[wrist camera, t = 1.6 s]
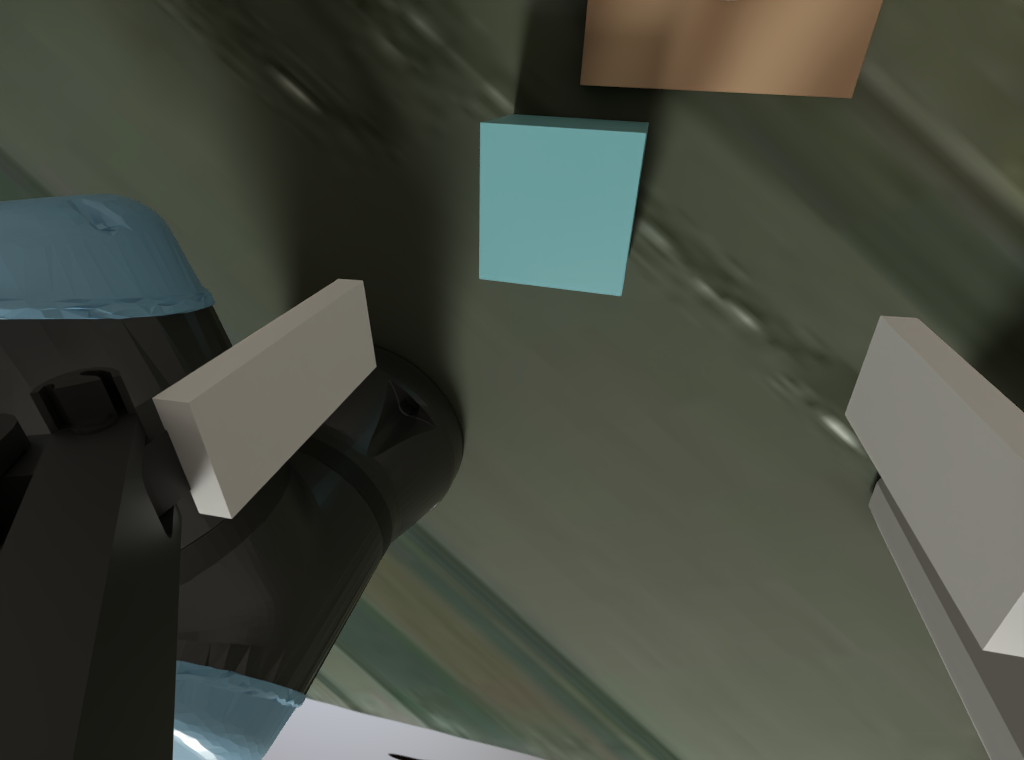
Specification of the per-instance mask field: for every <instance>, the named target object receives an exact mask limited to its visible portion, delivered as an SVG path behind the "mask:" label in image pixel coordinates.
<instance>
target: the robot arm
mask: <svg viewBox="0 0 1024 760" xmlns="http://www.w3.org/2000/svg"><path fill="white" fill-rule="evenodd" d="M214 303H215V301H214V299H213V297H212V294H211V292H209V291H208V290H207V289H206V288H205V287H203V286H202V285H201V283H200V282H199V280H198V278H197V276H196V274H195V273H194V271H193V269H192V267H191V265H190V264H189V262H188V260H187V258H186V256H185V255H184V253H183V251H182V249H181V248H180V246H179V244H178V242H177V240H176V239H175V237H174V235H173V233H172V231H171V230H170V228H169V227H168V225H167V224H166V222H165V221H164V220H163V219H162V218H161V217H160V216H159V215H158V214H157V213H156V212H155V211H153V210H152V209H151V208H149V207H148V206H146V205H144V204H142V203H140V202H138V201H136V200H133V199H130V198H128V197H124V196H120V195H114V194H87V195H72V196H59V197H47V198H35V199H24V200H12V201H1V202H0V760H261V759H262V758H263V757H264V756H265V754H266V753H267V751H268V750H269V748H270V747H271V745H272V744H273V742H274V740H275V739H276V737H277V736H278V734H279V733H280V731H281V730H282V728H283V727H284V725H285V723H286V722H287V721H288V719H289V717H290V716H291V714H292V713H293V711H294V710H295V709H296V708H298V707H300V706H301V705H302V704H303V702H304V700H305V698H306V693H307V691H308V689H309V688H310V686H311V684H312V682H313V680H314V679H315V677H316V675H317V673H318V672H319V670H320V668H321V666H322V664H323V663H324V661H325V659H326V657H327V655H328V654H329V652H330V650H331V648H332V647H333V645H334V643H335V641H336V639H337V638H338V636H339V634H340V632H341V630H342V629H343V627H344V625H345V623H346V621H347V620H348V618H349V616H350V614H351V613H352V611H353V609H354V607H355V605H356V604H357V602H358V600H359V598H360V596H361V595H362V593H363V591H364V589H365V588H366V586H367V584H368V582H369V580H370V579H371V577H372V575H373V573H374V571H375V570H376V568H377V566H378V564H379V562H380V560H381V559H382V557H383V555H384V554H385V552H386V550H387V549H388V547H389V545H390V544H391V543H392V542H393V541H394V540H395V539H397V538H398V537H399V536H400V535H401V534H403V533H404V532H405V531H406V530H408V529H409V528H410V527H411V526H412V525H414V524H415V523H416V522H417V521H418V520H419V519H420V518H422V517H423V516H424V515H425V514H426V513H428V512H429V511H431V510H432V509H433V508H434V507H435V506H437V505H438V504H439V502H440V501H441V500H442V499H443V498H444V496H445V495H446V493H447V492H448V490H449V488H450V486H451V484H452V482H453V480H454V478H455V476H456V475H457V472H458V470H459V467H460V464H461V460H462V453H463V444H462V435H461V431H460V427H459V424H458V421H457V418H456V416H455V414H454V412H453V409H452V408H451V406H450V404H449V402H448V401H447V399H446V398H445V396H444V395H443V394H442V392H441V391H440V390H439V389H438V387H437V386H436V385H435V384H434V383H433V382H432V381H431V380H430V379H429V378H428V377H427V376H426V375H425V374H424V373H422V372H421V371H420V370H419V369H418V368H416V367H415V366H413V365H412V364H411V363H409V362H408V361H406V360H404V359H403V358H401V357H399V356H397V355H395V354H393V353H391V352H389V351H386V350H384V349H381V348H378V347H375V346H373V341H372V334H371V328H370V321H369V315H368V309H367V302H366V296H365V290H364V283H363V280H348V279H337V280H336V281H334V282H333V283H331V284H330V285H328V286H326V287H325V288H323V289H322V290H320V291H319V292H317V293H316V294H314V295H312V296H311V297H309V298H308V299H306V300H305V301H303V302H301V303H300V304H298V305H297V306H295V307H294V308H292V309H291V310H289V311H287V312H286V313H284V314H283V315H281V316H280V317H278V318H276V319H275V320H273V321H272V322H270V323H269V324H267V325H266V326H264V327H262V328H261V329H259V330H258V331H256V332H255V333H253V334H252V335H250V336H248V337H247V338H245V339H244V340H242V341H241V342H239V343H237V344H236V345H234V346H232V344H231V342H230V340H229V338H228V336H227V334H226V332H225V330H224V328H223V326H222V324H221V322H220V320H219V318H218V316H217V314H216V312H215V310H214V307H213V304H214ZM845 416H846V418H847V419H848V421H849V423H850V424H851V426H852V428H853V430H854V431H855V433H856V435H857V436H858V438H859V440H860V442H861V443H862V445H863V447H864V448H865V450H866V452H867V454H868V455H869V457H870V459H871V460H872V462H873V464H874V466H875V467H876V469H877V471H878V472H879V474H880V476H881V477H882V479H883V481H884V483H885V484H886V486H887V488H888V489H889V491H890V493H891V495H892V496H893V498H894V500H895V501H896V503H897V505H898V507H899V508H900V510H901V512H902V513H903V515H904V517H905V518H906V520H907V522H908V524H909V525H910V527H911V529H912V530H913V532H914V534H915V536H916V537H917V539H918V541H919V542H920V544H921V546H922V548H923V549H924V551H925V553H926V554H927V556H928V558H929V560H930V561H931V563H932V565H933V566H934V568H935V570H936V571H937V573H938V575H939V577H940V578H941V580H942V582H943V583H944V585H945V587H946V589H947V590H948V592H949V594H950V595H951V597H952V599H953V601H954V602H955V604H956V606H957V607H958V609H959V611H960V612H961V614H962V616H963V618H964V619H965V621H966V623H967V624H968V626H969V628H970V630H971V631H972V633H973V635H974V636H975V638H976V640H977V642H978V643H979V645H980V647H981V648H982V650H985V651H990V652H996V653H1002V654H1008V655H1013V656H1019V657H1024V412H1023V411H1021V410H1020V409H1019V408H1018V407H1017V406H1016V405H1015V404H1014V403H1012V402H1011V401H1010V400H1009V399H1008V398H1007V397H1006V396H1005V395H1003V394H1002V393H1001V392H1000V391H999V390H998V389H997V388H996V387H994V386H993V385H992V384H991V383H990V382H989V381H988V380H987V379H985V378H984V377H983V376H982V375H981V374H980V373H979V372H978V371H976V370H975V369H974V368H973V367H972V366H971V365H970V364H968V363H967V362H966V361H965V360H964V359H963V358H962V357H961V356H959V355H958V354H957V353H956V352H955V351H954V350H953V349H952V348H950V347H949V346H948V345H947V344H946V343H945V342H944V341H943V340H941V339H940V338H939V337H938V336H937V335H936V334H935V333H934V332H932V331H931V330H930V329H929V328H928V327H927V326H926V325H925V324H923V323H922V322H921V321H920V320H919V319H918V318H907V317H892V316H880V318H879V321H878V324H877V327H876V329H875V332H874V335H873V338H872V341H871V343H870V346H869V349H868V352H867V354H866V357H865V360H864V363H863V365H862V368H861V371H860V374H859V377H858V379H857V382H856V385H855V388H854V390H853V393H852V396H851V399H850V401H849V404H848V407H847V410H846V413H845Z"/></svg>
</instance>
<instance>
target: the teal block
mask: <svg viewBox="0 0 1024 760" xmlns="http://www.w3.org/2000/svg"><path fill="white" fill-rule="evenodd" d="M648 126H649V122H634V121H618V120H601V119H585V118H568V117H552V116H535V115H519V114H512V115H508V116H504V117H500V118H496V119H492V120H488V121H484V122H480V244H479V279H486V280H494V281H502V282H510V283H518V284H526V285H535V286H543V287H551V288H559V289H567V290H575V291H584V292H592V293H600V294H608V295H616V296H621V295H622V290H623V284H624V279H625V273H626V268H627V262H628V256H629V250H630V243H631V237H632V230H633V224H634V217H635V211H636V204H637V198H638V191H639V185H640V178H641V172H642V165H643V159H644V152H645V146H646V139H647V133H648Z"/></svg>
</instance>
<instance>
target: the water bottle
mask: <svg viewBox="0 0 1024 760" xmlns="http://www.w3.org/2000/svg"><path fill="white" fill-rule="evenodd" d="M869 508H870V510H871V512H872V514H873V516H874V519H875V521H876V523H877V525H878V527H879V529H880V532H881V534H882V536H883V538H884V540H885V542H886V544H887V546H888V548H889V550H890V552H891V554H892V556H893V558H894V561H895V563H896V565H897V567H898V569H899V571H900V573H901V575H902V577H903V579H904V581H905V583H906V585H907V588H908V590H909V592H910V594H911V596H912V598H913V600H914V602H915V604H916V606H917V608H918V610H919V612H920V614H921V617H922V619H923V621H924V623H925V625H926V627H927V629H928V631H929V633H930V635H931V637H932V639H933V641H934V643H935V646H936V648H937V650H938V652H939V654H940V656H941V658H942V660H943V662H944V664H945V666H946V668H947V670H948V672H949V675H950V677H951V679H952V681H953V683H954V685H955V687H956V689H957V691H958V693H959V695H960V697H961V699H962V701H963V704H964V706H965V708H966V710H967V712H968V714H969V716H970V718H971V720H972V722H973V724H974V726H975V728H976V730H977V733H978V735H979V737H980V739H981V741H982V743H983V745H984V747H985V749H986V751H987V753H988V755H989V757H990V760H1024V657H1019V656H1013V655H1008V654H1002V653H996V652H990V651H985V650H982V648H981V647H980V645H979V643H978V642H977V640H976V638H975V636H974V635H973V633H972V631H971V630H970V628H969V626H968V624H967V623H966V621H965V619H964V618H963V616H962V614H961V612H960V611H959V609H958V607H957V606H956V604H955V602H954V601H953V599H952V597H951V595H950V594H949V592H948V590H947V589H946V587H945V585H944V583H943V582H942V580H941V578H940V577H939V575H938V573H937V571H936V570H935V568H934V566H933V565H932V563H931V561H930V560H929V558H928V556H927V554H926V553H925V551H924V549H923V548H922V546H921V544H920V542H919V541H918V539H917V537H916V536H915V534H914V532H913V530H912V529H911V527H910V525H909V524H908V522H907V520H906V518H905V517H904V515H903V513H902V512H901V510H900V508H899V507H898V505H897V503H896V501H895V500H894V498H893V496H892V495H891V493H890V491H889V489H888V488H887V486H886V484H885V483H884V481H883V479H882V477H881V478H880V479H879V480H878V481H877V483H876V486H875V489H874V491H873V494H872V497H871V500H870V502H869Z"/></svg>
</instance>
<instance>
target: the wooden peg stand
mask: <svg viewBox="0 0 1024 760" xmlns="http://www.w3.org/2000/svg"><path fill="white" fill-rule="evenodd" d="M882 2H883V0H588V3H587V14H586V25H585V36H584V47H583V59H582V70H581V81H580V85H592V86H612V87H633V88H653V89H674V90H695V91H715V92H736V93H756V94H777V95H798V96H818V97H839V98H852V95H853V92H854V89H855V86H856V83H857V79H858V76H859V73H860V70H861V67H862V64H863V61H864V58H865V55H866V52H867V48H868V45H869V42H870V39H871V36H872V33H873V30H874V27H875V24H876V21H877V18H878V14H879V11H880V8H881V5H882Z"/></svg>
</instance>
